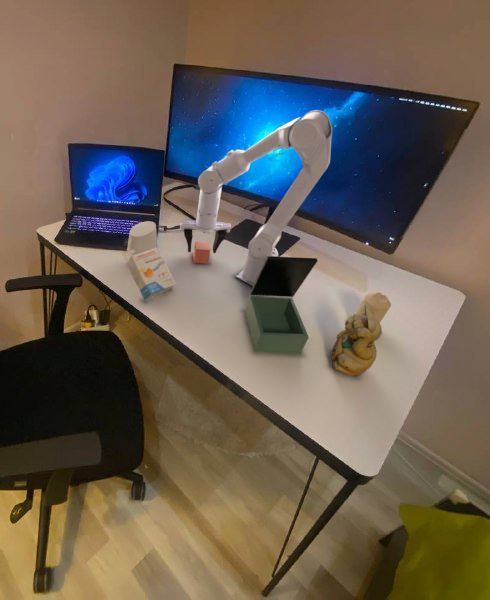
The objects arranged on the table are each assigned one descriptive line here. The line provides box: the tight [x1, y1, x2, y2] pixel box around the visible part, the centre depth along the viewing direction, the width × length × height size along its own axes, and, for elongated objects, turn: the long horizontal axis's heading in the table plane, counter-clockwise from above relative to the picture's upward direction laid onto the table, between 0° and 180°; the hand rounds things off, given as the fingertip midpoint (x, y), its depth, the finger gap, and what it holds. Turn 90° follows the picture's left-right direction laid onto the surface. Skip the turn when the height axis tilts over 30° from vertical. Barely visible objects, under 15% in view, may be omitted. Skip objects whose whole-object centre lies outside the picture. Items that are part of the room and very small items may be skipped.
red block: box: [192, 241, 211, 264], centre depth 107 cm, size 4×4×5 cm
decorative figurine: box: [330, 305, 383, 377], centre depth 74 cm, size 10×8×15 cm
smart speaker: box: [126, 220, 159, 256], centre depth 101 cm, size 10×9×14 cm
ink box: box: [122, 246, 177, 301], centre depth 94 cm, size 8×5×15 cm
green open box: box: [244, 294, 309, 355], centre depth 84 cm, size 14×11×6 cm
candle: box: [354, 292, 392, 324], centre depth 84 cm, size 6×6×10 cm
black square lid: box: [249, 256, 318, 298], centre depth 82 cm, size 14×11×5 cm
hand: (201, 250), depth 107 cm, fingers open, 7 cm apart
